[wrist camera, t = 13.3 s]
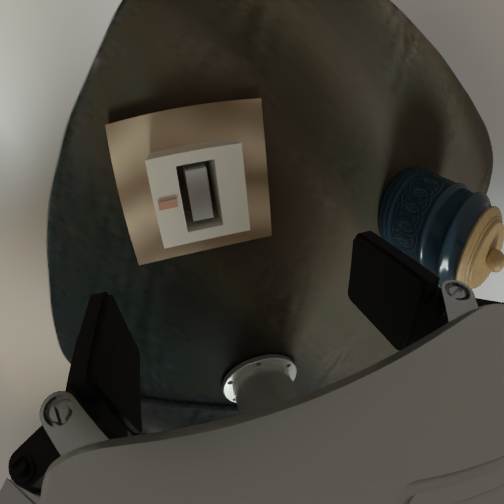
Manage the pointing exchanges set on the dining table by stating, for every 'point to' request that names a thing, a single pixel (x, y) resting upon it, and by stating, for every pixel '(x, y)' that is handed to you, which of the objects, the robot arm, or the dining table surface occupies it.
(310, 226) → the dining table surface
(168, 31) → the dining table surface
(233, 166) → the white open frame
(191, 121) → the base
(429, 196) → the canister
